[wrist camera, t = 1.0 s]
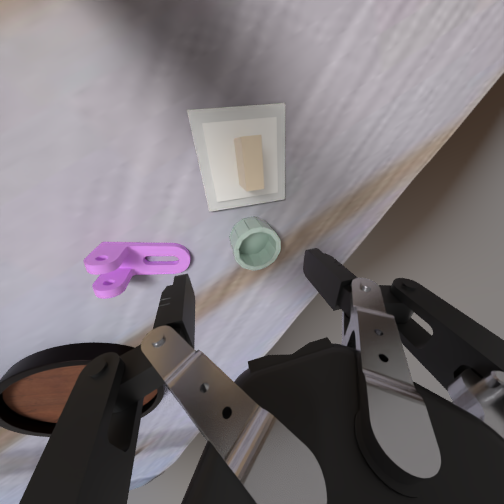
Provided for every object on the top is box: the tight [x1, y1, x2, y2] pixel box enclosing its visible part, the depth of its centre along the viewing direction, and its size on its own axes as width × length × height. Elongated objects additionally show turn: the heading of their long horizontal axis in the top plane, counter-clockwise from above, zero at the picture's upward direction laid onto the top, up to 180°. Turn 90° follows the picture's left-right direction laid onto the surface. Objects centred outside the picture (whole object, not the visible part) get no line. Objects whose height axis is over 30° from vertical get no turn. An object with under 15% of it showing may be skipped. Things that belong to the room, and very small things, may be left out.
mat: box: [187, 103, 285, 212], centre depth 27 cm, size 13×13×1 cm
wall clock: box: [0, 343, 165, 437], centre depth 42 cm, size 31×4×31 cm
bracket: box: [84, 242, 190, 298], centre depth 28 cm, size 13×6×7 cm, turn 82°
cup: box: [229, 217, 281, 271], centre depth 32 cm, size 8×8×5 cm
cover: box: [202, 117, 278, 202], centre depth 24 cm, size 10×10×6 cm
